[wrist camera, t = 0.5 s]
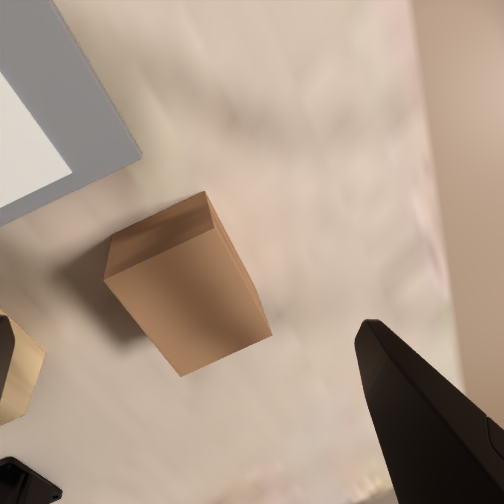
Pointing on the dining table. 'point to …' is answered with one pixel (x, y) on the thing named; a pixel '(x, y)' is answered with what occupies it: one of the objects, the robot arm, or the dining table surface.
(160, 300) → the walnut block
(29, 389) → the maple cube
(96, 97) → the base board
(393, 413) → the robot arm
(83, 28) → the dining table surface
